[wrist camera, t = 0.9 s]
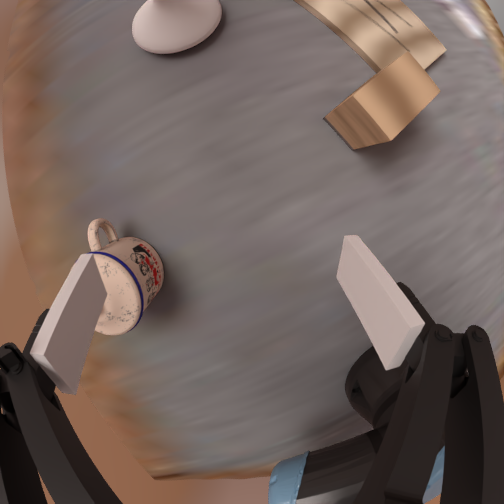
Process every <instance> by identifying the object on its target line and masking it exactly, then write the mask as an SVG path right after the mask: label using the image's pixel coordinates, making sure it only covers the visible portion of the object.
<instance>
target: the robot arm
mask: <svg viewBox="0 0 504 504" xmlns="http://www.w3.org/2000/svg"><path fill="white" fill-rule="evenodd" d="M336 278H337V280H338V281H339V283H340V285H341V287H342V288H343V290H344V292H345V294H346V296H347V297H348V299H349V301H350V303H351V305H352V306H353V308H354V310H355V312H356V314H357V316H358V317H359V319H360V321H361V323H362V325H363V327H364V329H365V330H366V332H367V334H368V336H369V338H370V340H371V342H372V344H373V347H371V348H370V349H369V350H367V351H366V352H365V353H364V354H363V355H362V356H361V357H360V358H359V359H358V360H357V361H356V362H355V364H354V365H353V367H352V368H351V370H350V372H349V374H348V376H347V379H346V383H345V391H346V395H347V397H348V400H349V402H350V404H351V406H352V407H353V408H354V409H355V410H356V411H357V412H358V413H359V414H360V415H361V416H363V417H364V418H365V419H366V420H367V421H368V422H369V423H370V424H371V425H372V426H373V428H374V430H371V431H369V432H367V433H364V434H361V435H359V436H356V437H354V438H351V439H348V440H346V441H343V442H340V443H337V444H335V445H332V446H329V447H325V448H322V449H319V450H316V451H312V452H310V451H307V452H305V453H304V454H302V455H298V456H295V457H292V458H288V459H285V460H282V461H281V462H279V463H278V464H277V465H276V466H275V467H274V469H273V471H272V474H271V478H270V483H269V493H268V500H269V501H268V502H269V504H424V503H426V502H428V501H430V500H431V499H433V498H435V497H436V496H438V495H439V494H441V498H440V504H504V402H503V396H502V391H501V385H500V380H499V375H498V371H497V367H496V363H495V359H494V355H493V351H492V347H491V344H490V340H489V337H488V335H487V333H486V332H485V331H484V329H482V328H481V327H479V326H476V325H471V326H470V327H468V329H467V330H466V332H465V333H453V332H452V331H451V330H450V329H449V328H448V327H446V326H444V325H441V324H435V322H434V321H433V319H432V318H431V317H430V315H429V314H428V312H427V311H426V310H425V308H424V307H423V306H422V304H421V303H419V300H418V299H417V298H416V297H415V295H414V294H413V292H412V291H411V290H410V288H408V287H407V286H406V285H404V284H403V283H401V282H398V283H395V281H394V280H393V279H392V277H391V276H390V275H389V274H388V272H387V271H386V270H385V268H384V267H383V266H382V265H381V263H380V262H379V261H378V260H377V258H376V257H375V256H374V255H373V253H372V252H371V251H370V250H369V249H368V247H367V246H366V245H365V244H364V243H363V241H362V240H361V239H360V238H359V237H358V235H347V236H344V241H343V247H342V252H341V257H340V262H339V267H338V272H337V276H336ZM106 297H107V291H106V289H105V286H104V283H103V281H102V278H101V275H100V272H99V270H98V267H97V264H96V261H95V258H94V255H93V253H91V254H81V255H80V257H79V259H78V260H77V262H76V263H75V265H74V267H73V268H72V270H71V272H70V274H69V275H68V277H67V279H66V280H65V282H64V284H63V286H62V288H61V289H60V291H59V293H58V295H57V297H56V299H55V300H54V302H53V304H52V306H51V308H50V309H46V310H45V311H44V312H43V313H42V314H41V315H40V317H39V319H38V321H37V323H36V326H35V327H34V329H33V332H32V333H31V335H30V337H29V339H28V341H27V344H26V346H25V348H24V351H23V353H21V352H20V350H19V349H18V348H17V346H16V345H15V344H14V343H6V344H4V345H2V346H1V347H0V368H1V369H0V504H47V500H46V498H45V494H44V491H43V488H42V485H41V481H40V478H39V474H40V476H41V478H42V480H43V482H44V484H45V486H46V488H47V490H48V491H49V493H50V495H51V497H52V498H53V500H54V502H55V504H123V503H122V502H121V501H120V500H119V498H118V497H117V496H116V495H115V493H114V492H113V491H112V489H111V488H110V487H109V485H108V484H107V482H106V481H105V480H104V478H103V477H102V475H101V474H100V472H99V471H98V469H97V468H96V466H95V465H94V463H93V462H92V460H91V458H90V457H89V455H88V454H87V452H86V450H85V449H84V447H83V445H82V444H81V442H80V440H79V438H78V436H77V435H76V433H75V431H74V429H73V427H72V425H71V424H70V421H69V419H68V418H67V416H66V414H65V411H64V409H63V407H62V405H61V403H60V401H59V399H58V396H57V395H56V394H55V392H54V390H55V386H57V387H58V388H59V390H60V391H61V392H62V393H67V394H74V395H76V392H77V388H78V384H79V381H80V377H81V373H82V370H83V366H84V363H85V359H86V356H87V352H88V349H89V346H90V343H91V340H92V337H93V334H94V331H95V328H96V325H97V322H98V319H99V316H100V313H101V311H102V308H103V305H104V302H105V300H106ZM467 371H468V372H467ZM468 375H469V376H468ZM1 408H2V409H3V414H2V413H1ZM38 472H39V474H38Z"/></svg>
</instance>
